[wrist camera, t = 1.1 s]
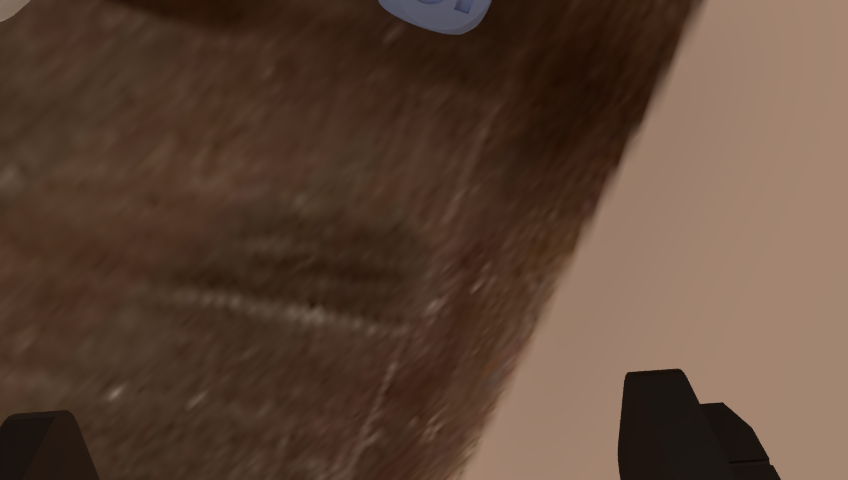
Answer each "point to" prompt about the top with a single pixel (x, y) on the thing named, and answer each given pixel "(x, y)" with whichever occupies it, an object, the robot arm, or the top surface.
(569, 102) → the top surface
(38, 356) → the top surface
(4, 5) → the grey rounded cylinder
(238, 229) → the top surface
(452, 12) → the decorative dice
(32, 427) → the robot arm
